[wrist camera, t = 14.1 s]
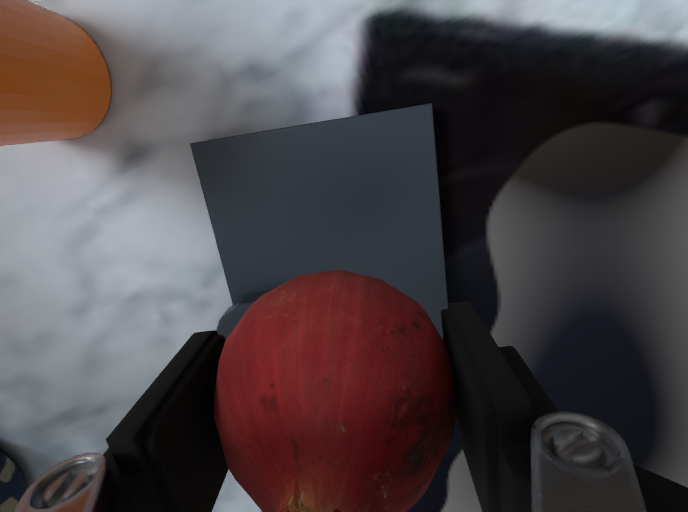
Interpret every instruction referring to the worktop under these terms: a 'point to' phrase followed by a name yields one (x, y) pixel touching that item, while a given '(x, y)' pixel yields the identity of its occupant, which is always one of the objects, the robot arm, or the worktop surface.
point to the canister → (10, 484)
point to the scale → (328, 206)
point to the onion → (334, 397)
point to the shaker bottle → (48, 76)
